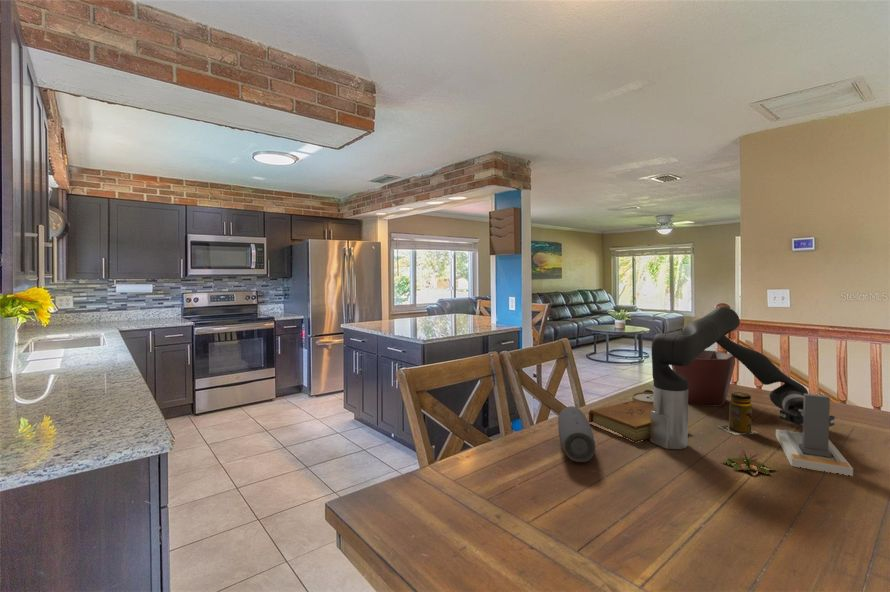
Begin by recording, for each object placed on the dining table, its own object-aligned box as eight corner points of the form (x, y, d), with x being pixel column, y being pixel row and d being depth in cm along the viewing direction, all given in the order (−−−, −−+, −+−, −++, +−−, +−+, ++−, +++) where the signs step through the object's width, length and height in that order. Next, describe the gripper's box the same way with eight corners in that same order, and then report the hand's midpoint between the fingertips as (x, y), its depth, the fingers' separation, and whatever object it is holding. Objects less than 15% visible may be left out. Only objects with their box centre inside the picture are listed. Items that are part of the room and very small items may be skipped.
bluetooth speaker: (597, 468, 112) (598, 431, 112) (561, 465, 114) (561, 429, 114) (586, 436, 135) (587, 405, 134) (556, 434, 136) (556, 403, 136)
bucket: (736, 397, 173) (738, 336, 172) (740, 412, 155) (741, 345, 153) (669, 389, 186) (670, 333, 185) (664, 402, 168) (665, 340, 166)
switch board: (775, 435, 133) (775, 426, 132) (826, 442, 127) (826, 432, 126) (791, 466, 112) (792, 455, 112) (852, 476, 106) (853, 464, 106)
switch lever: (799, 447, 118) (800, 392, 117) (827, 451, 115) (829, 395, 114) (802, 452, 114) (803, 395, 114) (831, 457, 111) (833, 398, 111)
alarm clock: (625, 397, 167) (647, 384, 175) (626, 408, 167) (648, 395, 175) (652, 404, 157) (674, 390, 165) (654, 416, 158) (675, 402, 166)
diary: (633, 415, 156) (634, 399, 156) (682, 431, 139) (683, 414, 139) (588, 425, 145) (588, 408, 145) (635, 444, 129) (636, 425, 128)
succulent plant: (741, 456, 119) (741, 440, 119) (788, 474, 108) (788, 457, 108) (710, 463, 115) (711, 446, 115) (756, 483, 104) (756, 465, 104)
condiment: (758, 433, 135) (759, 396, 134) (734, 435, 133) (735, 397, 133) (739, 425, 142) (740, 390, 141) (716, 427, 141) (717, 391, 140)
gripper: (772, 394, 133) (784, 410, 118) (828, 399, 127) (847, 417, 112) (772, 417, 134) (783, 436, 119) (827, 424, 127) (846, 445, 112)
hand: (814, 427), depth 115 cm, fingers closed
